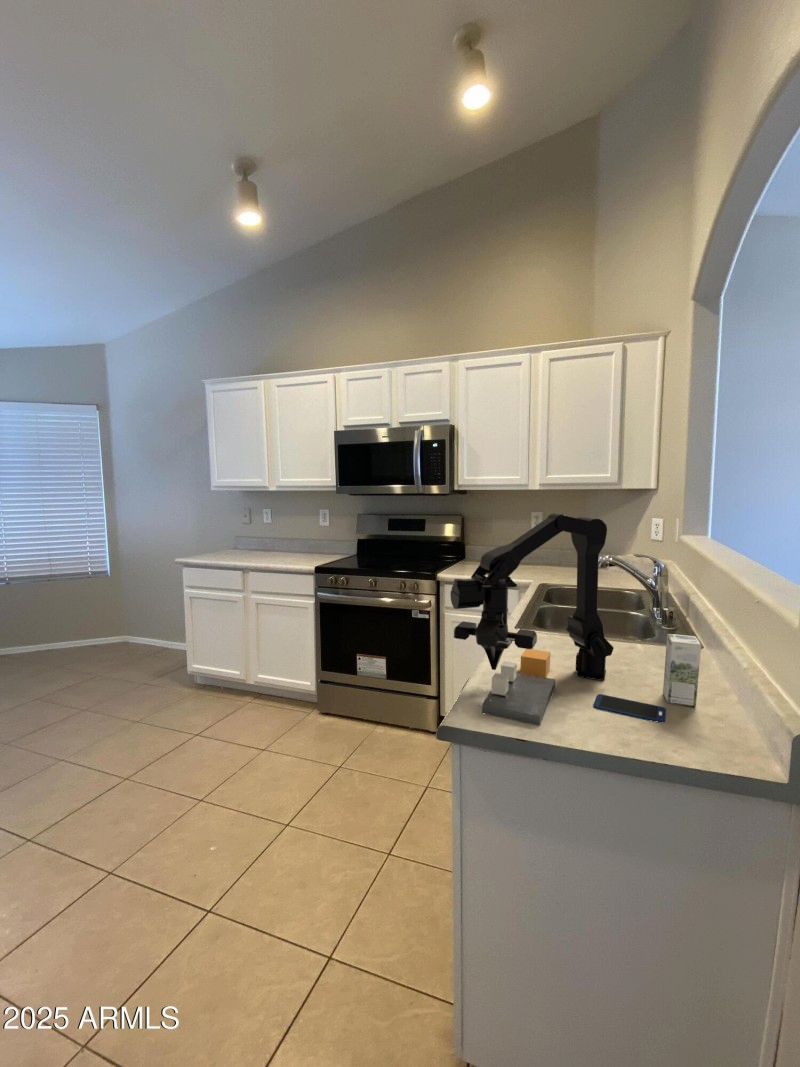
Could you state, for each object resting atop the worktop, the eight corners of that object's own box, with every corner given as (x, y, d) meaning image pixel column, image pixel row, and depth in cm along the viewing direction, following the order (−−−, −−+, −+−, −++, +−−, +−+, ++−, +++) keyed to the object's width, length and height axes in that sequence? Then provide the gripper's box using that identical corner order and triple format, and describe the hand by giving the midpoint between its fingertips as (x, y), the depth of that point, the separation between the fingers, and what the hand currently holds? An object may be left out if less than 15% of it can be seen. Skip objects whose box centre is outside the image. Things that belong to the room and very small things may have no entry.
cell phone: (664, 725, 101) (664, 722, 101) (592, 709, 108) (592, 706, 108) (666, 710, 107) (666, 707, 107) (597, 696, 114) (597, 693, 114)
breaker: (508, 690, 111) (508, 675, 111) (504, 695, 109) (505, 680, 108) (495, 687, 113) (495, 672, 112) (491, 693, 110) (491, 677, 109)
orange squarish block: (549, 670, 128) (550, 651, 128) (545, 679, 123) (546, 660, 122) (525, 666, 131) (526, 648, 130) (520, 674, 126) (520, 656, 125)
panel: (555, 687, 118) (555, 677, 118) (539, 725, 100) (540, 714, 100) (505, 678, 123) (505, 669, 123) (481, 713, 105) (482, 702, 105)
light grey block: (516, 677, 118) (516, 663, 118) (513, 681, 116) (513, 667, 115) (503, 675, 120) (504, 661, 119) (500, 679, 117) (501, 665, 117)
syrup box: (690, 696, 113) (695, 635, 111) (696, 708, 108) (701, 643, 106) (662, 693, 115) (666, 632, 113) (667, 704, 110) (671, 640, 108)
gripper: (445, 609, 114) (445, 674, 116) (528, 619, 106) (526, 689, 108) (461, 598, 124) (461, 658, 126) (538, 606, 116) (536, 671, 118)
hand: (494, 669), depth 119 cm, fingers closed
